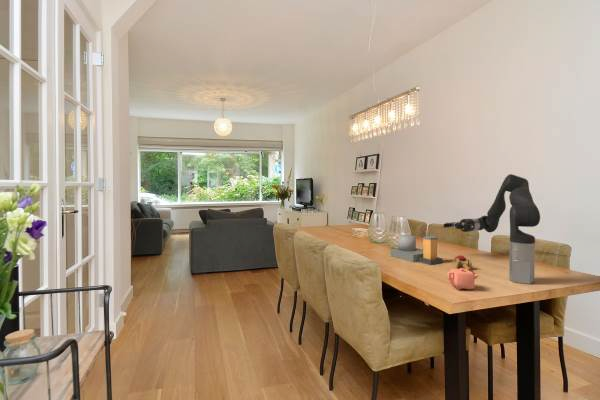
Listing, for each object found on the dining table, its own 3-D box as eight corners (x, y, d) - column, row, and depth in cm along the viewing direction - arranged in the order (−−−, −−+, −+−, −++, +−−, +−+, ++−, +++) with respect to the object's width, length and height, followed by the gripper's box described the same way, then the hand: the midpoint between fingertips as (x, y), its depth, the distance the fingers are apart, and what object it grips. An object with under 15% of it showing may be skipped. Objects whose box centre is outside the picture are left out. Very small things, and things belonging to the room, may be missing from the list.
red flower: (479, 277, 158) (467, 263, 176) (477, 265, 157) (466, 252, 175) (462, 279, 160) (452, 265, 177) (460, 267, 159) (450, 254, 176)
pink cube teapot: (482, 291, 134) (482, 270, 134) (451, 290, 135) (451, 270, 135) (474, 285, 142) (474, 266, 142) (445, 285, 143) (445, 266, 143)
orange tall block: (429, 260, 188) (429, 235, 187) (437, 262, 183) (437, 237, 182) (422, 261, 185) (422, 236, 185) (430, 263, 180) (430, 238, 180)
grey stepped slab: (410, 253, 208) (410, 234, 207) (447, 262, 183) (447, 240, 183) (390, 256, 201) (390, 236, 200) (425, 265, 176) (426, 243, 176)
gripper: (458, 217, 201) (439, 218, 193) (481, 219, 188) (461, 220, 181) (458, 230, 201) (439, 231, 194) (480, 232, 188) (461, 234, 181)
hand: (450, 226), depth 187 cm, fingers open, 8 cm apart
